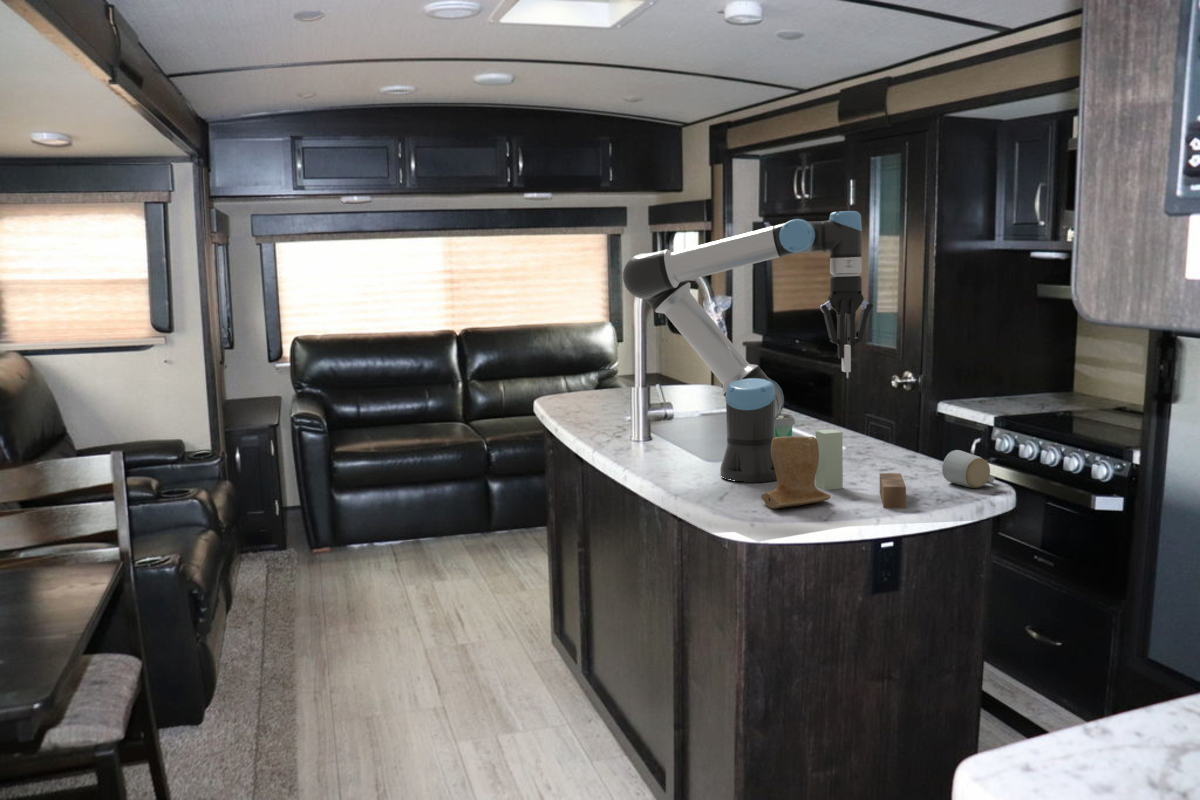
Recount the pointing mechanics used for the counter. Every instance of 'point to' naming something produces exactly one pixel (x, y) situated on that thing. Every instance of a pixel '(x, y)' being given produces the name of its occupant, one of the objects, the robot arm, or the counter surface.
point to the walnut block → (892, 490)
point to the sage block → (829, 459)
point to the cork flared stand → (794, 472)
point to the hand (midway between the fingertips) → (846, 371)
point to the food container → (784, 425)
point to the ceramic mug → (966, 469)
